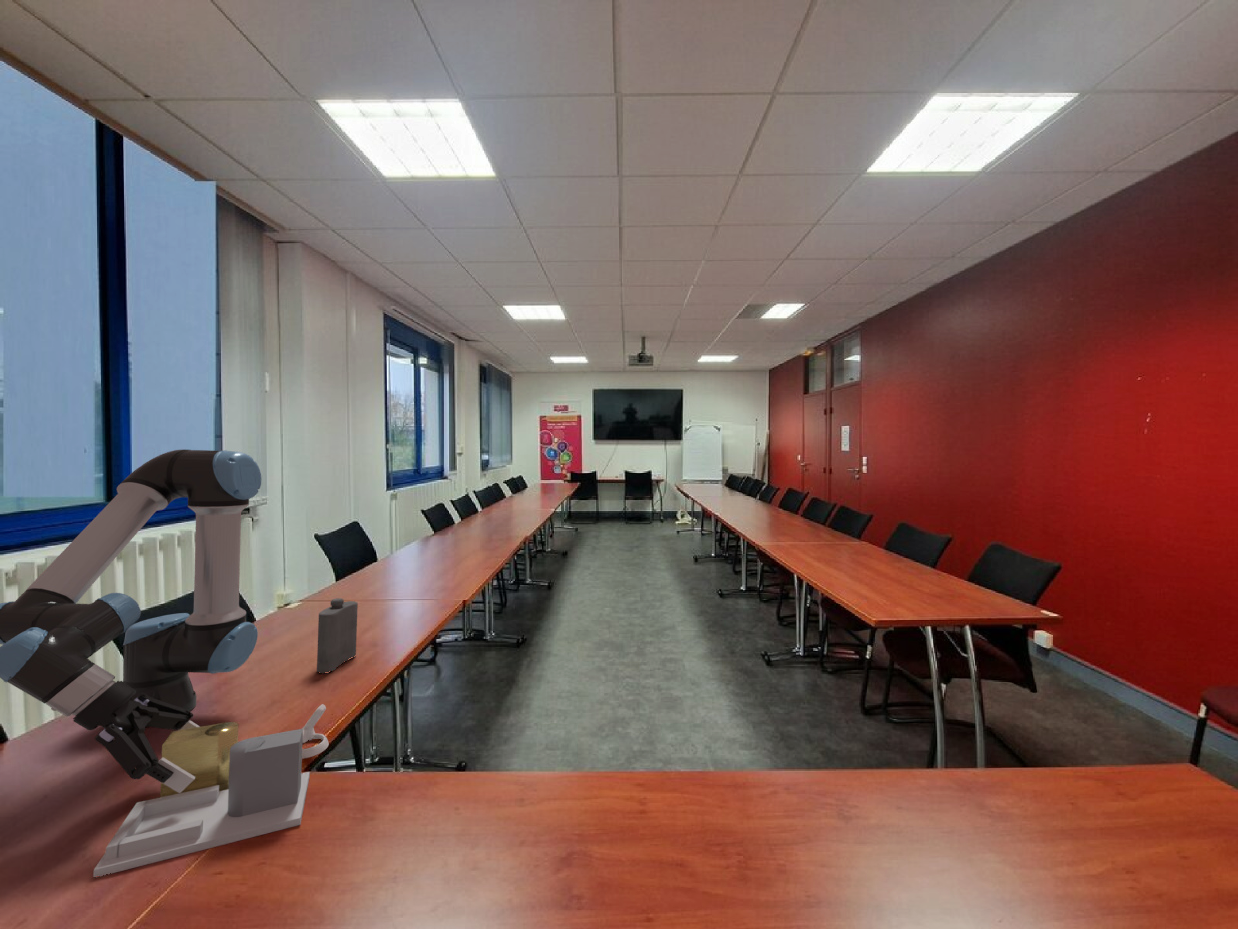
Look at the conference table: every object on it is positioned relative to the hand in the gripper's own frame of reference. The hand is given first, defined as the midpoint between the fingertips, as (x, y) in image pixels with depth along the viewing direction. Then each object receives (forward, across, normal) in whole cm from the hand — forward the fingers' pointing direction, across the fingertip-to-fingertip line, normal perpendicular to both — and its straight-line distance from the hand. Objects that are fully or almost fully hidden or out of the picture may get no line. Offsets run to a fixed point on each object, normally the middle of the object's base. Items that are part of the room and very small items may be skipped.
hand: (200, 764), depth 92 cm
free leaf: (+4, -1, -4) cm, 5 cm away
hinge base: (+7, +10, 0) cm, 13 cm away
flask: (+17, -57, +10) cm, 60 cm away
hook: (+16, -8, +8) cm, 19 cm away
